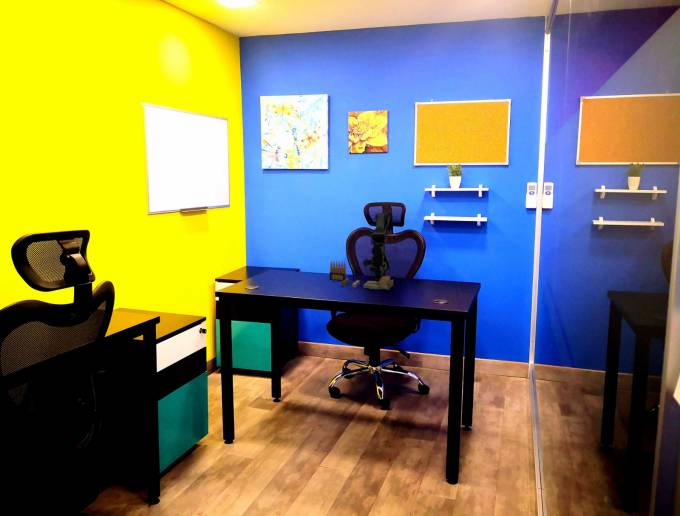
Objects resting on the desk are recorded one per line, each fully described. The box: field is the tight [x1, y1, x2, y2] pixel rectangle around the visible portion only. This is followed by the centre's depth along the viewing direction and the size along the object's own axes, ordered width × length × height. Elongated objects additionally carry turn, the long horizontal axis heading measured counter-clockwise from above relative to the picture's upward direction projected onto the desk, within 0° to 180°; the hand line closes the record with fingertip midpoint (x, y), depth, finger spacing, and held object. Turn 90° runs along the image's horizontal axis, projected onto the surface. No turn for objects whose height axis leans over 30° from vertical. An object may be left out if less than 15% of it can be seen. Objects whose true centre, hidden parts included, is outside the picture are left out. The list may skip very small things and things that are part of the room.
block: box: [380, 275, 391, 286], centre depth 305 cm, size 10×4×4 cm, turn 165°
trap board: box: [341, 277, 394, 291], centre depth 308 cm, size 13×27×4 cm, turn 75°
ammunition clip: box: [328, 260, 347, 282], centre depth 324 cm, size 11×2×12 cm, turn 63°
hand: (378, 281), depth 307 cm, fingers closed
